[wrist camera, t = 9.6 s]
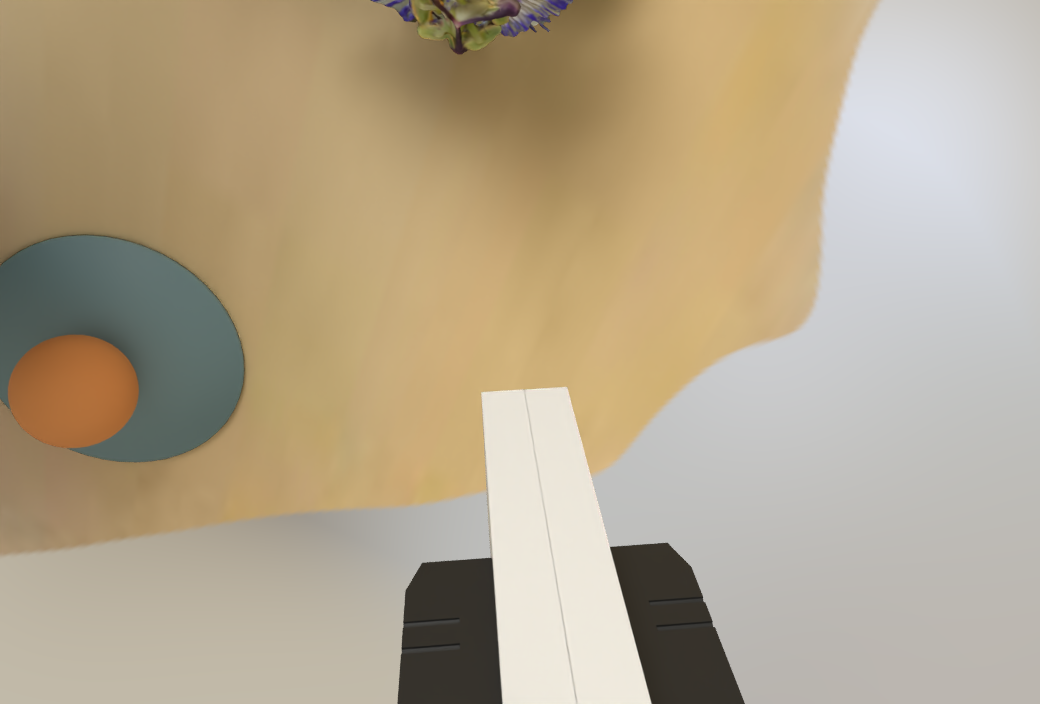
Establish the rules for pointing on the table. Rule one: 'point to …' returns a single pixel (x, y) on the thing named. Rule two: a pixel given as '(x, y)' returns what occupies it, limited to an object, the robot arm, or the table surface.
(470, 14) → the passion flower
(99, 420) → the ball
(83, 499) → the table surface
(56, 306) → the mark
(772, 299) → the table surface
